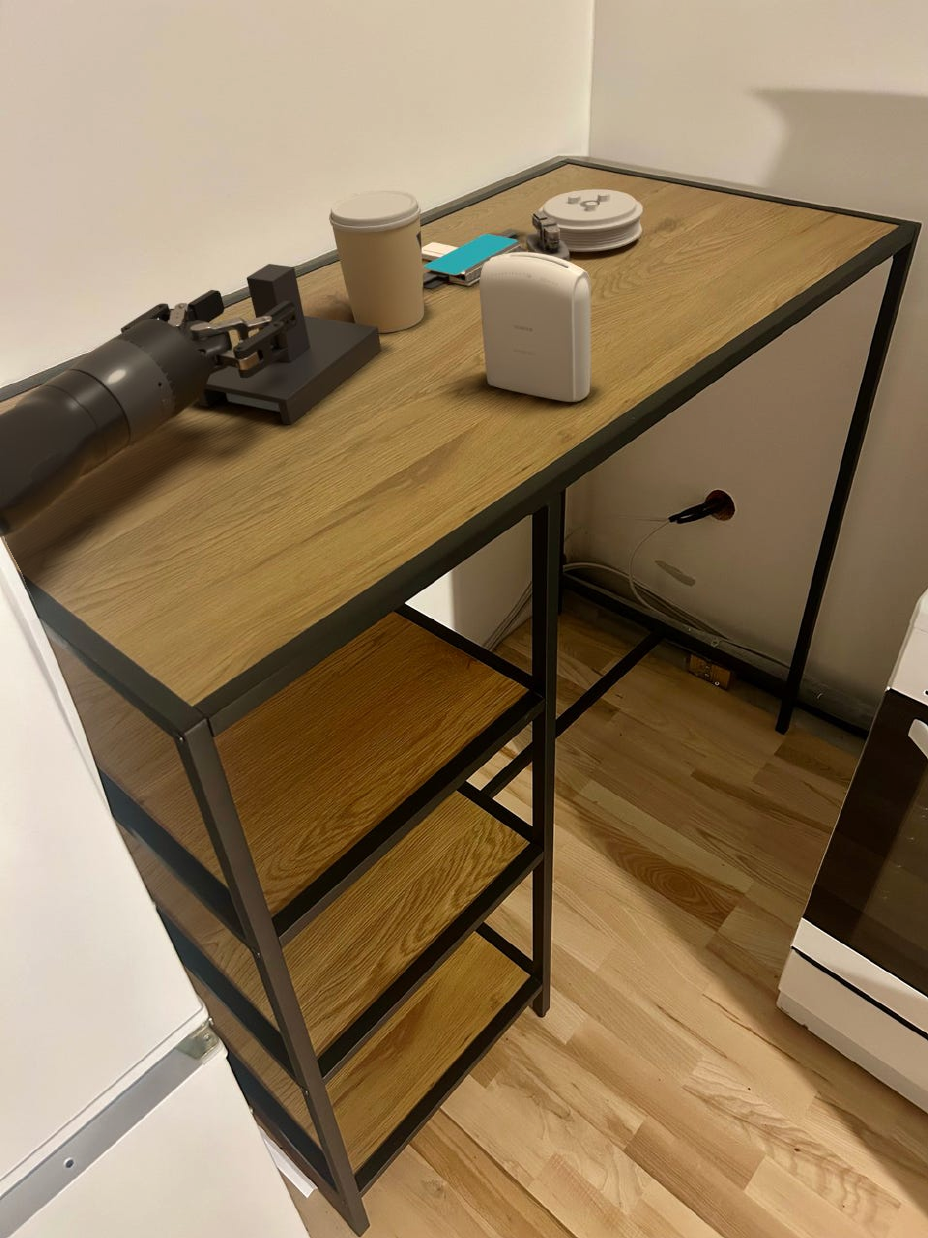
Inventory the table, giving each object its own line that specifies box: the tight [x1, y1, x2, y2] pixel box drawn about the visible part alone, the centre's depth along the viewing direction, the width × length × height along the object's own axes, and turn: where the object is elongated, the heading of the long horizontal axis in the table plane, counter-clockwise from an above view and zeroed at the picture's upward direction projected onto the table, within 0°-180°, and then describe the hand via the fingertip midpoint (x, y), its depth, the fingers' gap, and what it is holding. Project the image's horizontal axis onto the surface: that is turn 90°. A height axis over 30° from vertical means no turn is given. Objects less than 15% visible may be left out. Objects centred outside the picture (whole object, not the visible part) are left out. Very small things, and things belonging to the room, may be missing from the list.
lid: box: [537, 188, 644, 253], centre depth 112 cm, size 13×13×5 cm
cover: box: [197, 263, 382, 425], centre depth 89 cm, size 16×11×11 cm
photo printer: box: [478, 252, 592, 403], centre depth 82 cm, size 10×4×12 cm, turn 57°
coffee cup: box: [328, 189, 425, 334], centre depth 97 cm, size 9×9×12 cm
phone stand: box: [421, 228, 528, 290], centre depth 112 cm, size 20×12×2 cm, turn 141°
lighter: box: [525, 210, 570, 262], centre depth 95 cm, size 8×3×10 cm, turn 14°
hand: (255, 305), depth 85 cm, fingers open, 8 cm apart
